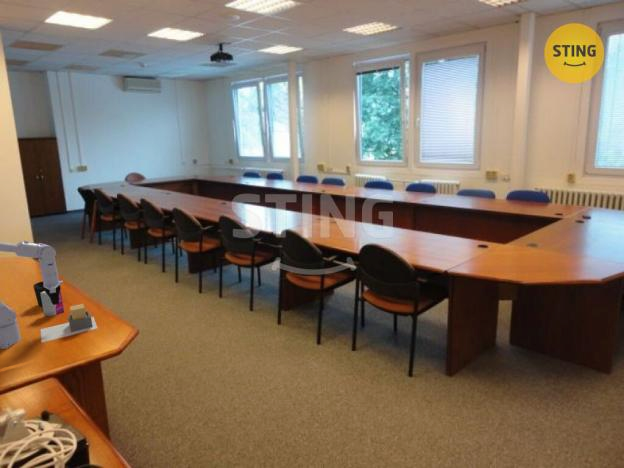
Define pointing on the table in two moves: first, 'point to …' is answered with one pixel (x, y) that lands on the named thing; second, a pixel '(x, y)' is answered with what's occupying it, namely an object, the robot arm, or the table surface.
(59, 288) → the robot arm
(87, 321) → the charcoal base block
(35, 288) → the pen holder
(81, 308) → the ochre block
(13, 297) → the table surface
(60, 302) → the supplement box
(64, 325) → the build board
